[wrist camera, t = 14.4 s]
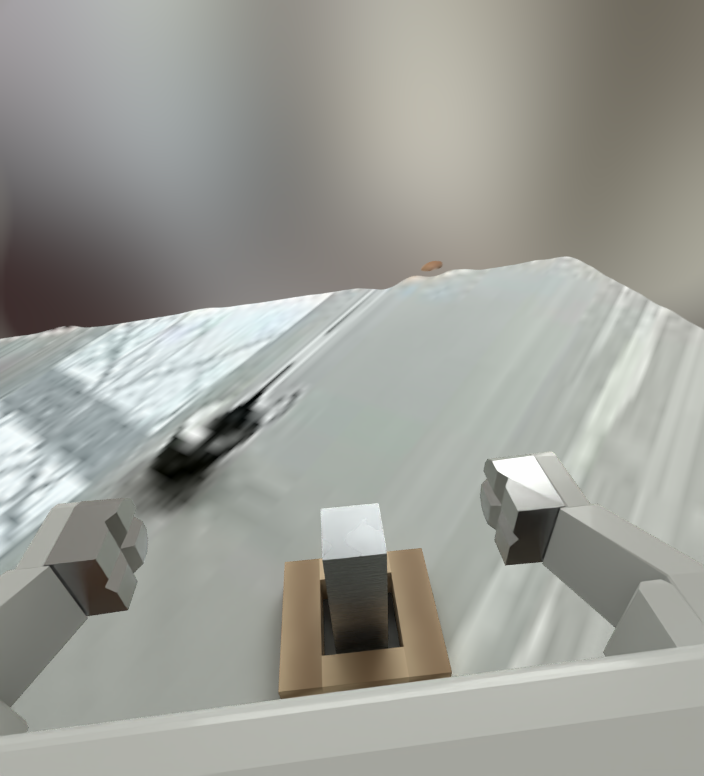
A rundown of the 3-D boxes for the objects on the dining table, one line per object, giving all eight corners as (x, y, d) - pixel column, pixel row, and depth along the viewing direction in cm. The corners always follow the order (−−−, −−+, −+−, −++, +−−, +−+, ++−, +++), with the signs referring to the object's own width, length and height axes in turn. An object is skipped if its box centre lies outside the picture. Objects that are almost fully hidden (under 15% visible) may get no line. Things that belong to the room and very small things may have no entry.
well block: (284, 710, 32) (278, 691, 30) (289, 582, 40) (284, 562, 38) (448, 690, 32) (451, 672, 31) (420, 568, 41) (421, 548, 39)
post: (337, 660, 34) (322, 560, 27) (334, 610, 38) (320, 509, 30) (388, 654, 35) (387, 553, 27) (381, 605, 38) (378, 503, 31)
